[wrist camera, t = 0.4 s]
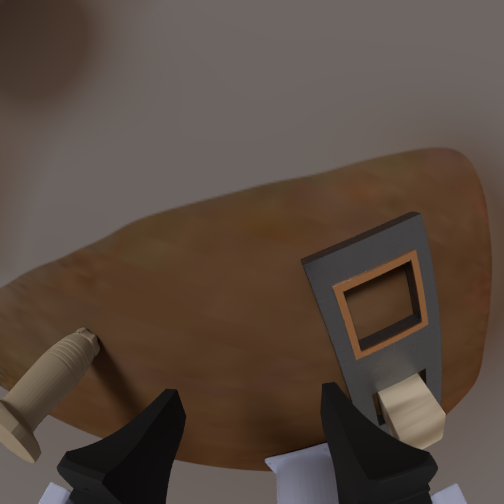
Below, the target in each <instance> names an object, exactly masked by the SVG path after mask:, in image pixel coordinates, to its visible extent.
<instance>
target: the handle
mask: <svg viewBox="0 0 504 504" xmlns="http://www.w3.org/2000/svg"><path fill="white" fill-rule="evenodd" d="M97 339H98V338H97V337H96V335H94V334H92V333H90V332H89V331H88V330H87V329H86V328H80V329H78V330H77V331H75V333H73V334H70V335H68V336H66V337H65V338H63V339H62V340H60V341H59V342H58V343H56V344H55V345H53V346H52V347H51V348H50V349H49V350H48V351H46V352H45V353H44V354H43V355H42V356H41V357H40V358H39V359H38V360H37V362H36V363H35V364H34V365H33V366H32V367H31V368H30V369H29V370H28V371H27V373H26V374H25V375H24V376H23V377H22V378H21V379H20V380H19V381H18V383H17V384H16V385H15V386H14V387H13V388H12V389H11V391H10V392H9V393H8V394H7V395H6V396H5V397H4V398H3V399H2V400H0V442H1V443H2V444H3V445H5V446H6V447H7V448H8V449H9V450H11V451H12V452H13V453H15V454H16V455H18V456H19V457H21V458H22V459H24V460H26V461H28V462H32V463H35V462H36V461H37V459H38V458H39V456H40V454H41V450H40V447H39V444H38V442H37V440H36V438H35V437H34V434H33V432H34V430H35V429H36V428H37V426H38V425H39V424H40V423H41V422H42V420H43V419H44V418H45V417H46V416H47V415H48V414H49V413H50V412H51V411H52V409H53V408H54V407H55V406H56V405H57V404H58V403H59V402H60V401H61V400H62V399H63V398H64V397H65V396H66V395H67V394H68V393H69V392H70V391H71V390H72V389H73V388H74V386H75V385H76V384H77V383H78V382H79V381H80V379H81V378H82V377H83V375H84V374H85V372H86V371H87V370H88V368H89V366H90V365H91V363H92V361H93V358H94V356H97V354H98V353H99V351H100V346H99V344H98V341H97Z"/></svg>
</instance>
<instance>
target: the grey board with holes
mask: <svg viewBox="0 0 504 504" xmlns="http://www.w3.org/2000/svg"><path fill="white" fill-rule="evenodd" d="M301 262H302V264H303V267H304V270H305V272H306V275H307V277H308V280H309V282H310V285H311V288H312V290H313V293H314V295H315V298H316V301H317V303H318V306H319V309H320V311H321V314H322V317H323V320H324V322H325V325H326V328H327V331H328V333H329V336H330V339H331V342H332V344H333V347H334V350H335V353H336V356H337V359H338V362H339V365H340V367H341V370H342V373H343V376H344V379H345V382H346V385H347V388H348V391H349V394H350V397H351V401H352V403H353V404H354V406H355V407H356V408H357V409H358V410H359V411H360V412H361V413H362V414H363V415H364V416H366V417H367V418H368V419H369V420H370V421H371V422H372V423H374V424H375V425H376V426H377V427H379V428H380V429H382V430H383V431H384V432H386V433H387V434H389V435H391V434H390V431H389V429H388V427H387V425H386V422H385V420H384V418H383V415H380V416H378V417H377V415H376V410H375V406H374V402H373V397H372V395H373V394H375V393H377V392H380V391H382V390H384V389H386V388H388V387H390V386H392V385H394V384H397V383H399V382H401V381H403V380H404V379H406V378H408V377H410V376H412V375H414V374H416V373H418V372H420V373H421V379H422V380H423V382H424V383H425V385H426V386H427V388H428V389H429V390H430V392H431V393H432V395H433V396H434V398H435V399H436V401H437V402H438V404H439V405H440V407H441V390H442V349H441V330H440V317H439V307H438V298H437V290H436V283H435V277H434V271H433V265H432V259H431V254H430V249H429V244H428V239H427V235H426V231H425V226H424V222H423V218H422V215H421V213H417V212H413V211H412V212H409V213H407V214H405V215H403V216H400V217H398V218H396V219H394V220H391V221H389V222H387V223H385V224H382V225H380V226H378V227H376V228H373V229H371V230H369V231H366V232H364V233H362V234H359V235H357V236H355V237H353V238H350V239H348V240H346V241H343V242H341V243H339V244H336V245H334V246H331V247H329V248H327V249H324V250H322V251H320V252H317V253H315V254H312V255H310V256H308V257H305V258H303V259H301ZM402 264H404V266H405V271H406V275H407V280H408V285H409V290H410V295H411V301H412V306H413V312H414V314H413V315H411V316H409V317H407V318H405V319H403V320H401V321H399V322H397V323H395V324H393V325H391V326H389V327H387V328H385V329H383V330H381V331H379V332H376V333H374V334H372V335H370V336H368V337H366V338H363V339H361V340H359V341H358V339H357V336H356V332H355V329H354V326H353V322H352V319H351V316H350V312H349V309H348V306H347V303H346V300H345V297H344V294H343V291H346V290H348V289H350V288H353V287H355V286H357V285H359V284H362V283H364V282H366V281H368V280H370V279H373V278H375V277H377V276H379V275H381V274H383V273H385V272H387V271H390V270H392V269H394V268H396V267H398V266H400V265H402Z"/></svg>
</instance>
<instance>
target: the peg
mask: <svg viewBox="0 0 504 504" xmlns="http://www.w3.org/2000/svg"><path fill="white" fill-rule="evenodd" d="M377 397H378V401H379V406H380V411H381V413H382V415H383V418H384V420H385V422H386V425H387V427H388V429H389V431H390V434H391V436H392V437H394V438H396V439H398V440H400V441H401V442H403V443H406V444H408V445H410V446H413V447H415V448H418V449H421V450H422V449H424V448H426V447H428V446H429V445H431V444H433V443H435V442H436V441H438V440H440V439H442V437H443V431H444V430H443V429H444V422H445V415H446V414H445V413H444V411H443V410H442V408H441V407H440V405H439V404H438V402H437V401H436V399H435V398H434V396H433V395H432V393H431V392H430V390H429V389H428V388H427V386H426V385H425V383H424V382H423V380H422V379H421V378H420V376H419V375H418V373H416V374H414V375H412V376H410V377H408V378H406V379H404V380H403V381H401V382H399V383H397V384H394V385H392V386H390V387H388V388H386V389H384V390H382V391H380V392H377Z"/></svg>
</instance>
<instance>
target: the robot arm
mask: <svg viewBox="0 0 504 504" xmlns="http://www.w3.org/2000/svg"><path fill="white" fill-rule="evenodd" d="M320 412H321V418H322V425H323V430H324V433H325V437H326V440H327V443H323V444H320V445H316V446H313V447H310V448H306V449H302V450H299V451H295V452H291V453H287V454H283V455H278V456H274V457H269V458H266V459H265V463H266V464H267V465H268V466H269V467H270V468H271V469H272V470H273V472H275V474H276V475H277V504H467V503H466V500H465V498H464V496H463V494H462V492H461V490H460V488H459V486H458V484H457V483H454V484H452V485H450V486H448V487H447V488H444V489H442V490H440V491H438V492H436V493H434V494H433V495H431V496H430V495H429V493H428V492H429V491H430V487H429V485H428V483H429V482H430V481H431V479H432V478H433V477H434V475H435V474H436V472H437V470H438V466H437V464H436V462H435V460H434V459H433V457H432V456H431V455H430V453H429V452H427V451H424V450H421V449H418V448H415V447H413V446H410V445H408V444H406V443H403V442H401V441H400V440H398V439H396V438H394V437H392V436H391V435H389V434H387V433H386V432H384V431H383V430H382V429H380V428H379V427H377V426H376V425H375V424H374V423H372V422H371V421H370V420H369V419H368V418H367V417H366V416H364V415H363V414H362V413H361V412H360V411H359V410H358V409H357V408H356V407H355V406H354V404H353V403H352V402H351V401H350V400H349V399H348V398H347V397H346V395H345V394H344V393H343V392H342V390H341V389H340V388H339V386H338V385H337V383H335V382H331V383H324V384H322V397H321V411H320ZM185 420H186V414H185V411H184V409H183V406H182V403H181V400H180V397H179V394H178V391H177V390H176V389H165V390H164V391H163V392H162V393H161V394H160V395H159V396H158V397H157V398H156V399H155V400H154V401H153V402H152V403H151V404H150V405H149V406H148V407H147V408H146V409H145V410H144V411H143V412H141V413H140V414H139V415H138V416H137V417H136V418H134V419H133V420H132V421H131V422H129V423H128V424H127V425H125V426H124V427H123V428H121V429H120V430H118V431H116V432H115V433H113V434H111V435H110V436H108V437H106V438H104V439H102V440H100V441H98V442H96V443H93V444H91V445H88V446H85V447H82V448H79V449H76V450H71V451H67V452H66V453H65V455H64V456H63V458H62V459H61V461H60V463H59V464H58V466H57V470H58V472H59V474H60V475H61V476H62V477H63V478H64V479H65V480H66V481H67V482H68V483H69V484H70V485H71V486H72V487H73V488H74V489H73V491H72V492H71V491H69V490H68V489H66V488H64V487H62V486H60V485H58V484H56V483H54V482H51V483H50V484H49V486H48V488H47V489H46V491H45V493H44V494H43V496H42V498H41V500H40V501H39V503H38V504H166V496H167V488H168V482H169V477H170V472H171V468H172V464H173V461H174V458H175V455H176V453H177V450H178V447H179V444H180V441H181V438H182V435H183V431H184V426H185Z"/></svg>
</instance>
